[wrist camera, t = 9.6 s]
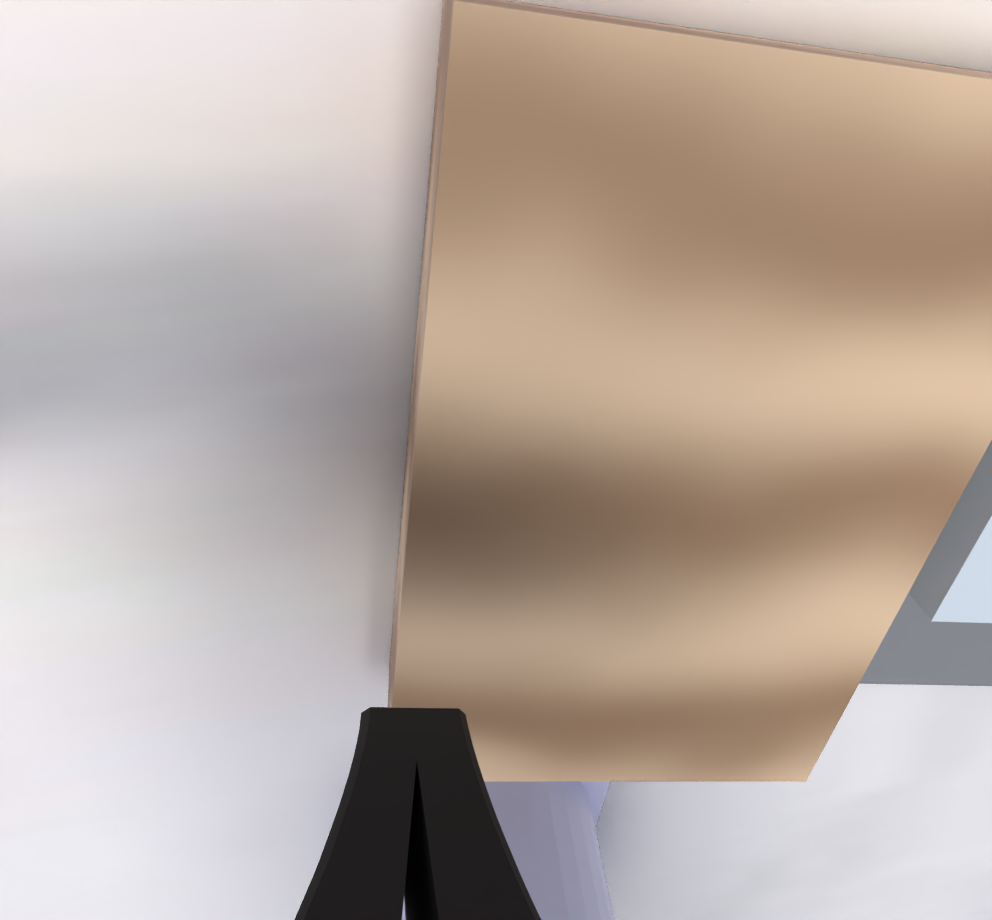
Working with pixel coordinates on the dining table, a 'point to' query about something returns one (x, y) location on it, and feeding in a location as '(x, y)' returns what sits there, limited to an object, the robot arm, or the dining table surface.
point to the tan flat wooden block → (682, 386)
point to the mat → (931, 651)
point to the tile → (962, 557)
